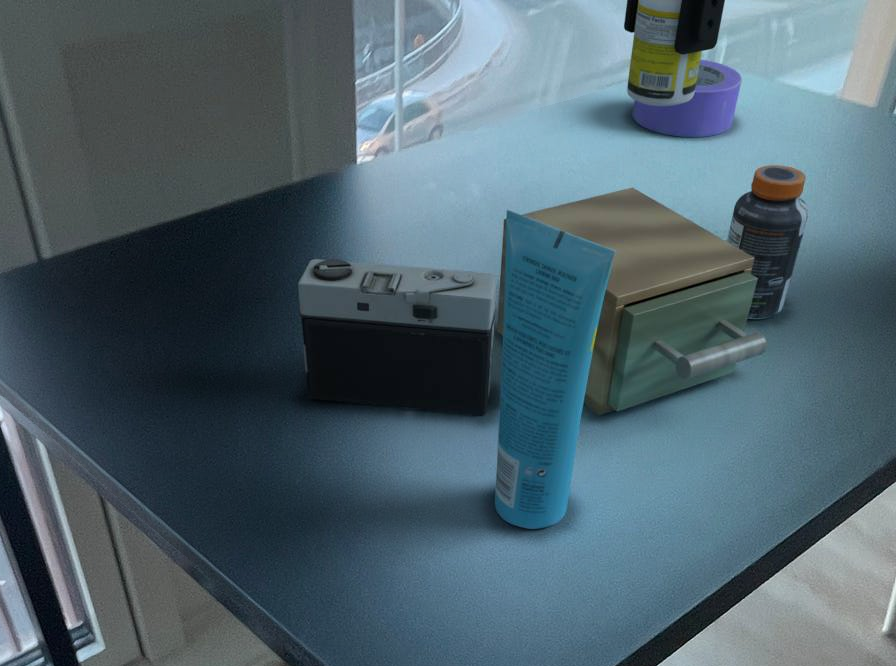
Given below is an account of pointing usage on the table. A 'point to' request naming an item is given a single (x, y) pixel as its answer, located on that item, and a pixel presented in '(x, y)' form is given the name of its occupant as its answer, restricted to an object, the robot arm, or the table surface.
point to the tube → (544, 365)
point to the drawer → (683, 339)
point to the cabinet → (634, 264)
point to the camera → (398, 335)
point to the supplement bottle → (660, 57)
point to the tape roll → (697, 105)
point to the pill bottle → (770, 233)
